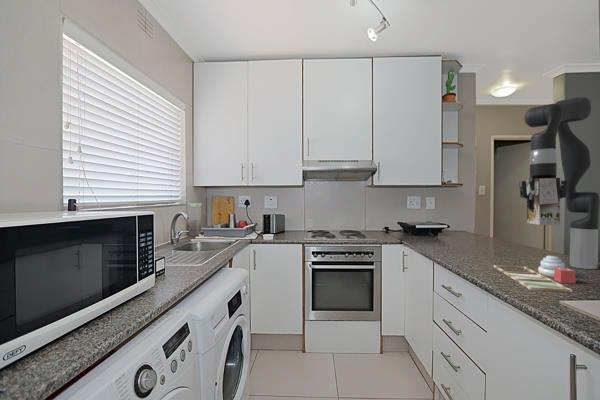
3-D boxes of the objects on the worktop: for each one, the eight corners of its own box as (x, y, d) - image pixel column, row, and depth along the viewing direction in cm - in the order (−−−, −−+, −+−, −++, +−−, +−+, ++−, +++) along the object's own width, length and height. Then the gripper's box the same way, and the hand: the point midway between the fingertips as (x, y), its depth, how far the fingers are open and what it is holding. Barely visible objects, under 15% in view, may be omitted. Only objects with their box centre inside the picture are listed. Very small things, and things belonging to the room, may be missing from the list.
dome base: (534, 271, 134) (534, 265, 134) (559, 272, 132) (559, 266, 132) (544, 276, 125) (544, 270, 125) (571, 277, 123) (571, 271, 123)
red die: (554, 279, 121) (554, 267, 121) (568, 280, 120) (568, 268, 120) (560, 282, 117) (560, 270, 117) (575, 283, 115) (575, 270, 115)
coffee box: (560, 225, 107) (561, 177, 107) (539, 225, 108) (539, 177, 108) (545, 223, 116) (546, 178, 116) (525, 223, 117) (526, 179, 117)
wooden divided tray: (493, 266, 142) (493, 265, 142) (524, 268, 139) (524, 266, 139) (529, 289, 108) (529, 287, 108) (572, 292, 105) (572, 289, 105)
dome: (536, 265, 133) (537, 254, 133) (558, 266, 131) (558, 255, 131) (546, 269, 126) (546, 257, 126) (568, 270, 124) (568, 258, 124)
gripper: (561, 163, 114) (560, 209, 114) (515, 164, 117) (515, 209, 118) (573, 161, 106) (572, 211, 107) (524, 162, 110) (523, 210, 110)
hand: (542, 210), depth 112 cm, fingers closed on coffee box, 6 cm apart
